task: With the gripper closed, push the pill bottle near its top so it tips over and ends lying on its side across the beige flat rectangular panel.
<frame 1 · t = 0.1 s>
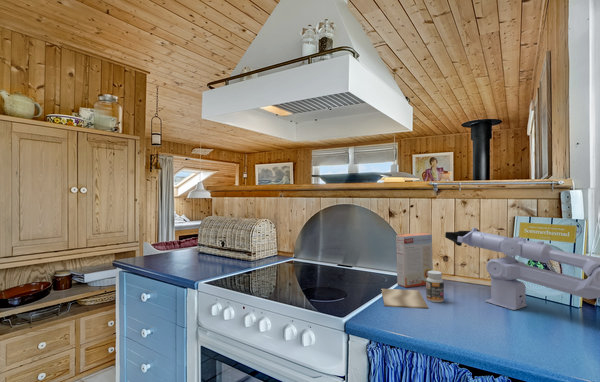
hand: (452, 234, 125), 22 cm above the worktop, tool horizontal, fingers open, 7 cm apart
cracker box: (414, 284, 132), on the worktop
pill bottle: (435, 300, 113), on the worktop
beige flat rectangular panel: (402, 298, 115), on the worktop
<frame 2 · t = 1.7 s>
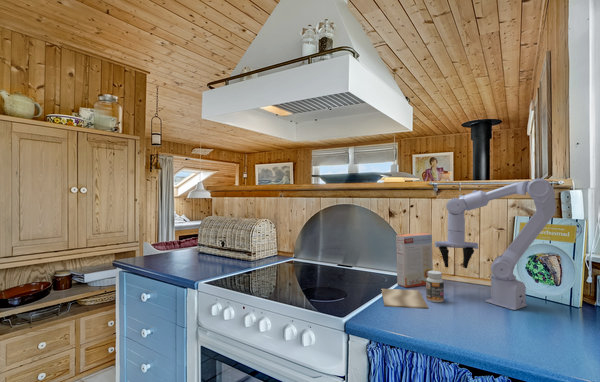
hand: (455, 267, 117), 10 cm above the worktop, tool pointing down, fingers open, 6 cm apart
nothing on the worktop moved.
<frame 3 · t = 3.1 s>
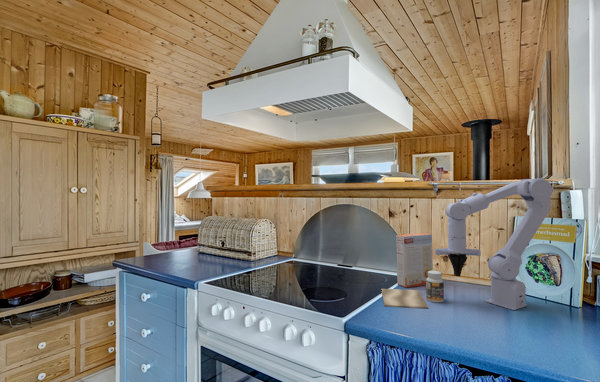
hand: (457, 275, 111), 9 cm above the worktop, tool pointing down, fingers closed
nothing on the worktop moved.
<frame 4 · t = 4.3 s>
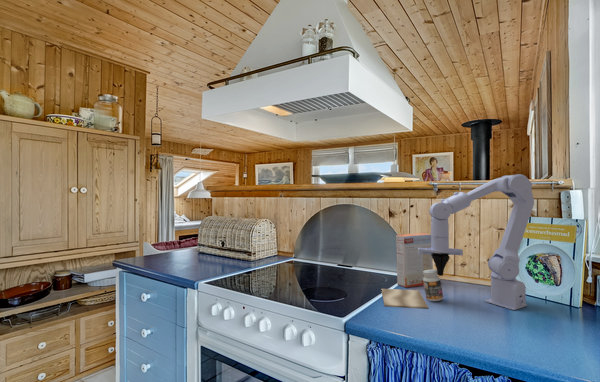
hand: (440, 275, 112), 9 cm above the worktop, tool pointing down, fingers closed
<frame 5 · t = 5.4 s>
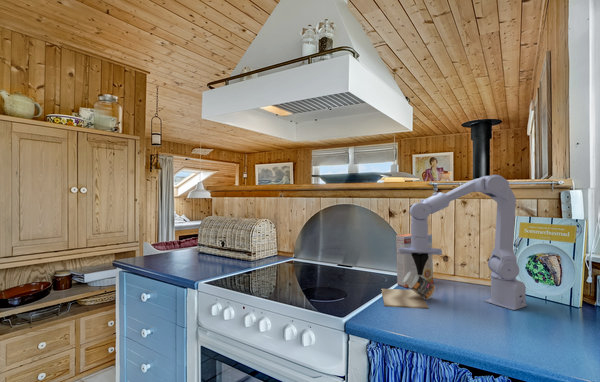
hand: (419, 274, 113), 9 cm above the worktop, tool pointing down, fingers closed
pill bottle: (431, 293, 113), point 2 cm above the worktop
everything else where it was.
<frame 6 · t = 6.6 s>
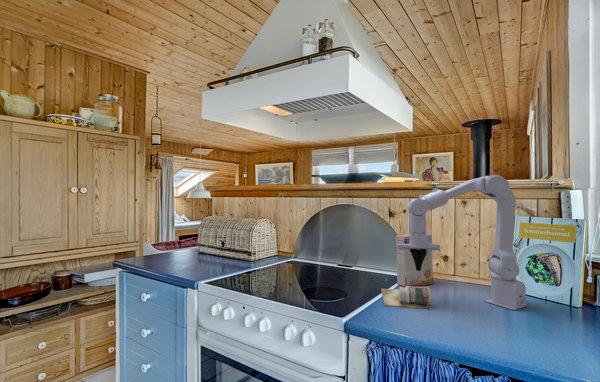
hand: (418, 270, 114), 10 cm above the worktop, tool pointing down, fingers closed
pill bottle: (430, 295, 107), point 3 cm above the worktop, touching beige flat rectangular panel
everything else where it was.
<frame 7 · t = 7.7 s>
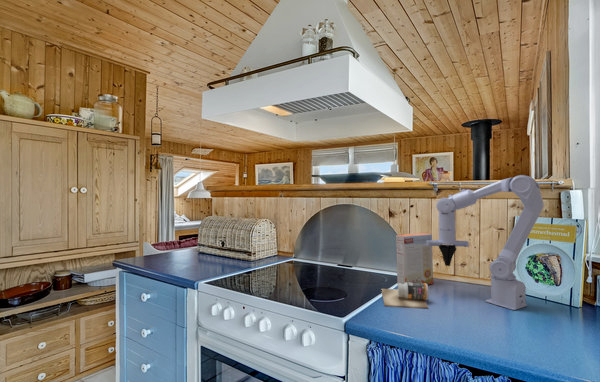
hand: (447, 265, 120), 10 cm above the worktop, tool pointing down, fingers closed
pill bottle: (428, 291, 112), point 3 cm above the worktop, touching beige flat rectangular panel
everything else where it was.
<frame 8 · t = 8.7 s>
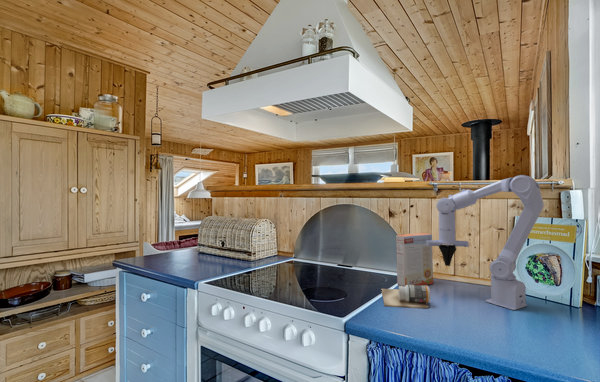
hand: (447, 265, 120), 10 cm above the worktop, tool pointing down, fingers closed
pill bottle: (429, 294, 109), point 3 cm above the worktop, touching beige flat rectangular panel
everything else where it was.
at the end: pill bottle tilted 90°; pill bottle touching beige flat rectangular panel; pill bottle moved 6.4 cm from its start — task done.
